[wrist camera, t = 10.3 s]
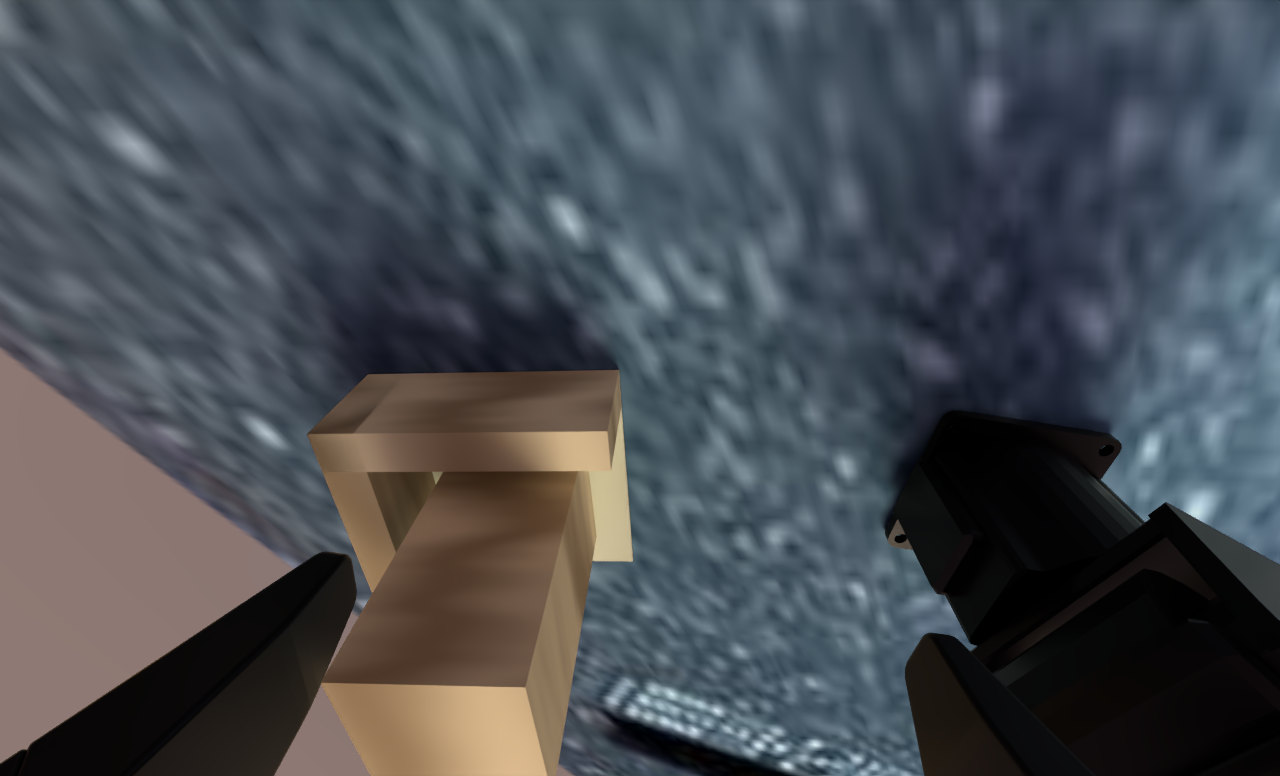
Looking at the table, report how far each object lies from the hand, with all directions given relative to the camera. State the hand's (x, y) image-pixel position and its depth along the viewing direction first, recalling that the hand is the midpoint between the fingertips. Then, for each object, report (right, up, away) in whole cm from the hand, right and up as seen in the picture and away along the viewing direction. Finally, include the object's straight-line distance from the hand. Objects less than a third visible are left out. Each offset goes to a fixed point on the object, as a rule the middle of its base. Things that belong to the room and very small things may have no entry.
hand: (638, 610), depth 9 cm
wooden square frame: (-5, 0, +14) cm, 15 cm away
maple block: (-4, -1, +14) cm, 15 cm away
